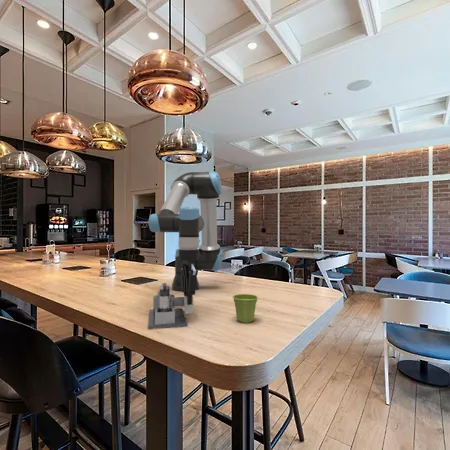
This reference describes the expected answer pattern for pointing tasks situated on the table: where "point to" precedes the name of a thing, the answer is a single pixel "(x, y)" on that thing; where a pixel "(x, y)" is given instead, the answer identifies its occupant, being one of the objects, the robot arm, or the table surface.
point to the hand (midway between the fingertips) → (188, 312)
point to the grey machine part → (173, 301)
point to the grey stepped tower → (164, 298)
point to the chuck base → (167, 318)
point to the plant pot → (245, 307)
